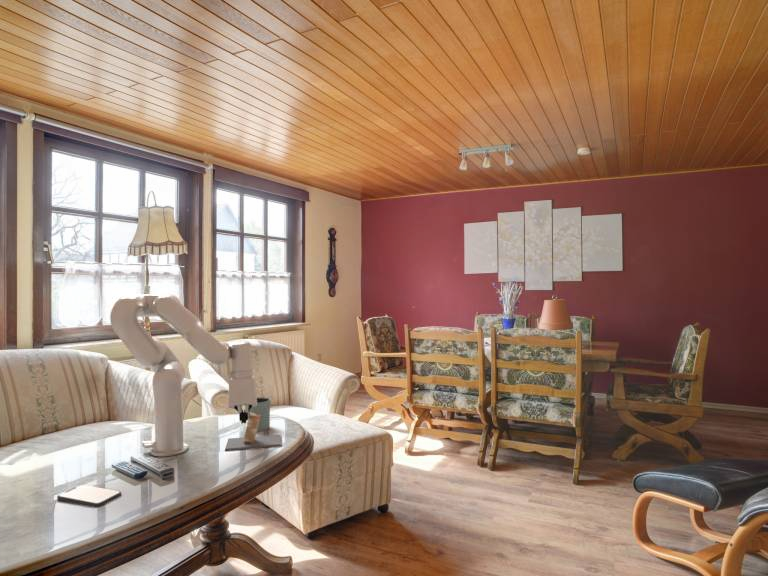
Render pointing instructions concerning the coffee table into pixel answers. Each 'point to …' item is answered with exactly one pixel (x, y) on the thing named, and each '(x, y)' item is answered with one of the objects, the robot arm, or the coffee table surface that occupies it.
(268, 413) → the grey-green cup
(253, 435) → the maple block
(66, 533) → the coffee table surface
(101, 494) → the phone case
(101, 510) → the coffee table surface
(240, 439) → the mat
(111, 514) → the coffee table surface
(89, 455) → the coffee table surface
